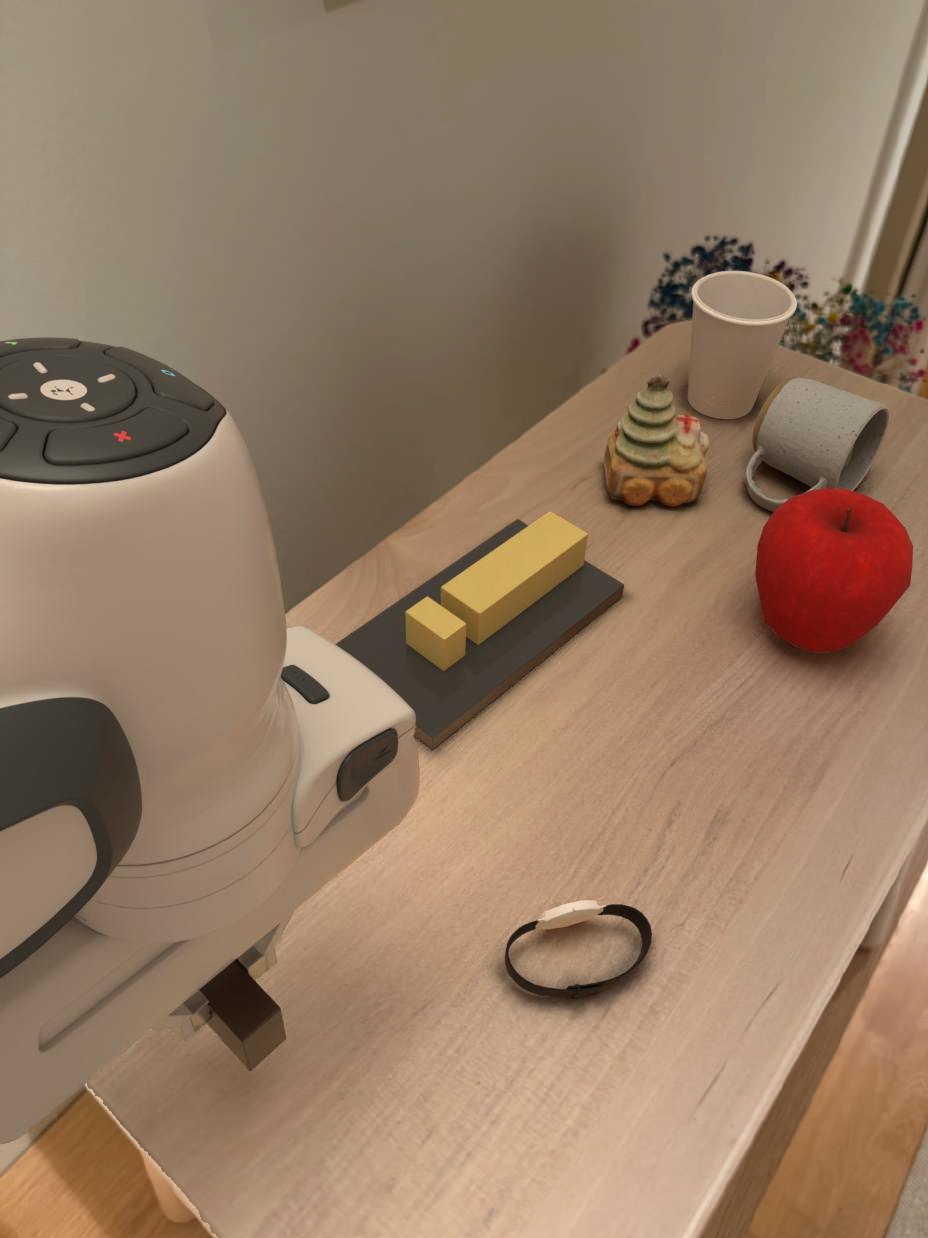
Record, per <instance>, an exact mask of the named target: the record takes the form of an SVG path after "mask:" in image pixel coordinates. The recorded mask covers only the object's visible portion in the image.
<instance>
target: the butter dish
mask: <svg viewBox="0 0 928 1238" xmlns="http://www.w3.org/2000/svg"><path fill="white" fill-rule="evenodd" d="M528 526H529V524H527V523H525V522H523V521H522V520H521V519H519V518H517V519H515V520H513V521H512V522H511V523H509V524H508V525H506V526H505V527H503V528H502V529H501V530H499V531H498V532H497V533H495V534H493V535H491V537H489V538H487V539H486V540H484V541H483V542H482V543H480V544H479V545H476V547H475V548H473V549H471V550H469V551H468V552H467V553H465V554H464V555H463V556H461V557H460V558H459V559H457V560H455V561H454V562H452V563H451V564H450V565H449V566H447V567H445V568H444V569H443V570H441V571H439V572H438V573H437V574H435V575H434V576H432V577H431V578H429V579H427V580H426V581H425V582H423V583H422V584H421V585H419V586H418V587H416V588H415V589H413V590H412V591H410V592H409V593H407V594H406V595H404V596H403V597H402V598H401V599H399V600H398V601H396V602H394V603H393V604H391V605H390V606H389V607H387V608H386V609H384V610H383V611H382V612H380V613H379V614H377V615H376V616H374V617H372V618H371V619H370V620H368V621H366V623H364V624H363V625H361V626H360V627H358V628H357V629H355V630H353V631H352V632H350V633H349V634H347V635H346V636H345V637H344V638H342V639H341V640H339V641H338V642H337V643H334V644H335V645H337V646H338V647H340V648H341V649H343V650H344V651H345V652H347V653H348V654H350V655H351V656H353V657H354V658H355V659H357V660H358V661H359V662H361V663H362V664H363V665H365V666H366V667H367V668H368V669H370V670H371V671H372V672H373V673H375V674H376V675H377V676H378V677H379V678H380V679H382V680H383V681H384V682H385V683H386V684H387V685H389V686H390V687H391V688H392V689H393V690H394V691H395V692H396V693H397V694H398V695H399V696H400V697H401V698H402V699H403V700H404V701H405V702H406V703H407V704H408V705H409V706H410V707H411V708H412V709H413V710H414V712H415V715H416V727H415V733H414V736H415V737H416V738H417V739H418V740H420V741H421V742H422V743H423V744H424V745H426V747H428V748H429V749H431V750H434V749H435V748H437V747H438V746H440V744H442V743H443V742H444V741H445V740H446V739H448V738H449V737H451V736H452V735H453V734H454V733H456V732H457V731H458V730H460V729H461V727H463V726H464V725H465V724H466V723H468V722H469V721H470V720H471V719H473V718H474V717H475V716H476V715H478V714H479V713H480V712H482V710H484V709H485V708H487V706H489V705H490V704H491V703H492V702H494V701H495V700H496V699H498V698H499V697H500V696H501V695H502V694H503V693H505V692H506V691H508V690H509V689H510V688H511V687H512V686H513V685H515V684H516V683H517V682H518V681H520V680H521V679H522V678H524V677H525V676H526V675H528V673H530V672H531V671H532V670H534V668H536V667H537V666H539V664H541V663H542V662H543V661H544V660H546V659H547V658H548V657H549V656H551V655H552V654H553V653H555V652H556V651H557V650H558V649H560V647H562V646H563V645H564V644H565V643H567V642H568V641H569V640H571V639H572V638H573V637H574V636H575V635H577V634H578V633H580V631H582V630H583V629H584V628H585V627H586V626H588V625H589V624H590V623H592V622H593V621H594V620H595V619H596V618H598V617H599V616H601V615H602V614H603V613H604V612H605V611H607V610H608V609H609V608H610V607H612V606H613V605H614V604H615V603H617V602H618V601H619V600H620V599H621V598H623V595H624V591H625V590H624V589H625V583H622V582H621V581H619V580H618V579H616V578H614V577H613V576H611V575H610V574H608V573H606V572H604V570H601V569H600V568H598V567H596V566H595V565H594V564H592V563H590V562H588V561H587V560H586V559H585V560H584V565H583V566H582V567H581V568H579V569H578V570H577V571H575V572H574V573H573V574H572V575H570V576H569V577H568V578H566V579H565V580H564V581H562V582H561V583H560V584H558V585H557V586H556V587H554V588H553V589H552V590H550V591H549V592H548V593H546V594H545V595H544V596H542V597H541V598H540V599H539V600H537V601H536V602H535V603H533V604H532V605H531V606H529V607H528V608H527V609H525V610H524V611H523V612H521V613H520V614H519V615H517V616H516V617H515V618H513V619H512V620H511V621H510V622H508V623H507V624H506V625H504V626H503V627H502V628H500V629H499V630H498V631H496V632H495V633H494V634H492V635H491V636H490V637H488V638H487V639H486V640H484V641H483V642H482V643H481V644H479V645H477V644H476V643H474V642H473V641H471V640H470V639H469V638H467V637H466V646H465V656H464V657H462V658H461V659H460V660H458V661H457V662H456V663H454V664H453V665H452V666H450V667H449V668H448V669H447V670H445V671H443V670H441V669H440V668H439V667H437V666H436V665H435V664H433V663H432V662H430V661H429V660H428V659H426V658H425V657H424V656H422V655H421V654H420V653H418V652H417V651H416V650H414V649H413V648H412V647H410V646H409V645H408V644H406V615H405V612H406V611H407V610H408V609H410V608H411V607H413V606H414V605H415V604H417V603H418V602H420V601H421V600H423V599H424V598H426V597H427V596H428V597H429V598H431V599H432V600H433V601H435V602H436V603H438V604H439V605H441V587H442V586H443V585H444V584H446V583H447V582H449V581H450V580H452V579H453V578H454V577H456V576H457V575H459V574H460V573H462V572H463V571H464V570H466V569H467V568H469V567H470V566H472V565H473V564H475V563H476V562H477V561H479V560H480V559H482V558H483V557H485V556H486V555H487V554H489V553H490V552H492V551H493V550H495V549H496V548H497V547H499V546H500V545H502V544H503V543H505V542H506V541H507V540H509V539H510V538H512V537H513V536H515V535H516V534H518V533H519V532H520V531H522V530H523V529H525V528H526V527H528Z"/></svg>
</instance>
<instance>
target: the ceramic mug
mask: <svg viewBox="0 0 928 1238" xmlns="http://www.w3.org/2000/svg"><path fill="white" fill-rule="evenodd" d="M757 415H758V416H757V417H756V420H755V424H754V427H753V432H752V440H751V443H752V448H753V452H754V453H753V455H752V456H751V457H750V460H749V461H748V463H747V467H746V470H745V485H746V490H747V493H748V495H749V496H750V498H751V500H752V501H753V502H755V504H756V505H757V506H759V507H761V508H763V509H764V510H767V511H769V512H772V513H773V512H774V511H775V510H776V509H777V508H778V507H780V506H781V505H782V504H783V503H785V502H786V501H787V500H788V499H789V498H783V499H780V498H779V499H774V498H770V497H768V496H766V495H765V494H764V493H763V491H762V489H761V488H760V487H758V486H756V485H757V484H756V483H755V481H754V479H753V477H754V475H755V472H756V471H757V469H758V468H759V466H760V465H761V463H762V462H764V463H765V464H766V465H768V466H770V467H772V468H773V469H776V470H777V471H780V472H781V473H783V474H786V475H788V476H790V477H792V478H794V479H795V480H797V481H799V482H800V483H802V484H804V485H806V486H808V487H810V489H808V490H807V491H806V492H808V491H811V490H817V489H847V490H850V491H855V489H856V488H858V486H859V485H860V484H861V483H862V481H863V480H864V479H865V476H866V475H867V474H868V472H869V471H870V469H871V467H872V465H873V464H874V462H875V461H876V459H877V456H878V453H879V452H880V450H881V447H882V444H883V442H884V438H885V436H886V432H887V429H888V426H889V420H890V410H889V407H888V406H887V405H886V404H884V403H882V402H879V401H876V400H873V399H870V398H867V397H864V396H861V395H858V394H855V393H853V392H849V391H846V390H843V389H840V388H837V387H834V386H831V385H829V384H826V383H824V382H821V381H818V380H816V379H815V380H814V379H810V378H805V377H798V376H797V377H796V376H794V377H789V378H786V379H785V380H783V381H781V382H780V383H779V384H778V385H777V386H776V387H775V388H774V389H773V391H772V392H770V394H769V396H767V398H766V400H765V402H764V403H763V404H762V407H761V409H760V411H759V413H758V414H757Z"/></svg>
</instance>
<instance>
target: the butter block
mask: <svg viewBox="0 0 928 1238" xmlns="http://www.w3.org/2000/svg"><path fill="white" fill-rule="evenodd" d="M588 538H589V533H588V532H586V531H585V530H583V529H581V528H580V527H578V526H576V525H575V524H573V523H571V522H569V521H568V520H566V519H564V518H563V517H561V516H560V515H558V514H557V513H555V512H553V511H551V510H549V511H547V512H546V513H545V514H543V515H542V516H540V517H539V518H537V519H536V520H535V521H533V522H531V523H530V524H528V527H526V528H525V529H523V530H522V531H520V532H519V533H518V534H516V535H515V536H513V537H512V538H510V539H509V540H507V541H506V542H505V543H503V544H502V545H500V546H499V547H497V548H496V549H495V550H493V551H492V552H490V553H489V554H487V555H486V556H485V557H483V558H482V559H480V560H479V561H477V562H476V563H475V564H473V565H472V566H470V567H469V568H467V569H466V570H464V571H463V572H462V573H460V574H459V575H457V576H456V577H454V578H453V579H452V580H450V581H449V582H447V583H446V584H444V585H443V586H442V587H441V606H442V607H443V608H445V609H446V610H448V611H449V612H451V613H452V614H453V615H455V616H456V617H458V618H459V619H461V620H462V621H463V622H465V623H466V637H467V638H469V639H470V640H471V641H473V642H474V643H476V644H477V645H479V644H481V643H482V642H483V641H484V640H486V639H487V638H488V637H490V636H491V635H492V634H494V633H495V632H496V631H498V630H499V629H500V628H502V627H503V626H504V625H506V624H507V623H508V622H510V621H511V620H512V619H513V618H515V617H516V616H517V615H519V614H520V613H521V612H523V611H524V610H525V609H527V608H528V607H529V606H531V605H532V604H533V603H535V602H536V601H537V600H539V599H540V598H541V597H542V596H544V595H545V594H546V593H548V592H549V591H550V590H552V589H553V588H554V587H556V586H557V585H558V584H560V583H561V582H562V581H564V580H565V579H566V578H568V577H569V576H570V575H572V574H573V573H574V572H575V571H577V570H578V569H579V568H581V567H582V566H583V565H584V560H585V561H586V554H587V553H586V552H587V545H588Z"/></svg>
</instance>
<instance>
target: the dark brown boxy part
mask: <svg viewBox="0 0 928 1238" xmlns="http://www.w3.org/2000/svg"><path fill="white" fill-rule="evenodd" d="M199 990H200V991H201V993H202V994H203V995H204V996H205V997H206V998H207V999H208V1000H209V1002H210V1005H211V1006H210V1009H211V1011H210V1012H211V1013H212V1016H213V1018H211V1019H210V1020H209V1021H208V1022H207V1023H206V1025H207V1026H208V1027H209V1028H210V1029H211V1030H212V1031H213V1032H214V1034H215V1035H216V1036H217V1037H218V1038H219V1039H220V1040H221V1041H222V1042H223V1043H224V1045H225V1046H226V1047H227V1048H228V1049H229V1051H231V1053H232V1054H233V1055H234V1056H235V1057H236V1059H238V1060H239V1061H240V1063H241V1065H243V1066H244V1067H245V1069H246V1070H247V1071H248V1072H252V1071H253V1070H254V1069H256V1067H258V1066H259V1065H260V1064H261V1063H262V1062H263V1061H264V1060H266V1058H268V1057H269V1056H270V1055H271V1054H272V1053H273V1052H274V1051H275V1050H276V1049H278V1048H279V1047H280V1045H282V1044H283V1043H285V1041H287V1034H286V1028H285V1023H284V1018H283V1013H282V1008H281V1006H280V1005H279V1004H278V1003H277V1002H276V1001H275V1000H274V999H273V997H271V996H270V995H269V994H268V993H267V991H265V989H264V988H263V987H262V986H261V985H260V984H259V983H258V982H257V980H256V981H255V980H254V979H253V978H252V977H251V976H250V975H249V974H248V973H247V972H246V971H245V970H244V969H243V968H242V967H241V966H240V965H239V963H238V962H237V961H236V960H234V961H233V962H232V963H231V964H230V965H228V966H227V967H226V968H225V969H224V970H222V971H221V972H220V973H219V974H218V975H216V976H215V977H214V978H213V979H212V980H210V981H209V982H208V983H207V984H205V985H204V986H203V987H202V988H201V989H199Z"/></svg>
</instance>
